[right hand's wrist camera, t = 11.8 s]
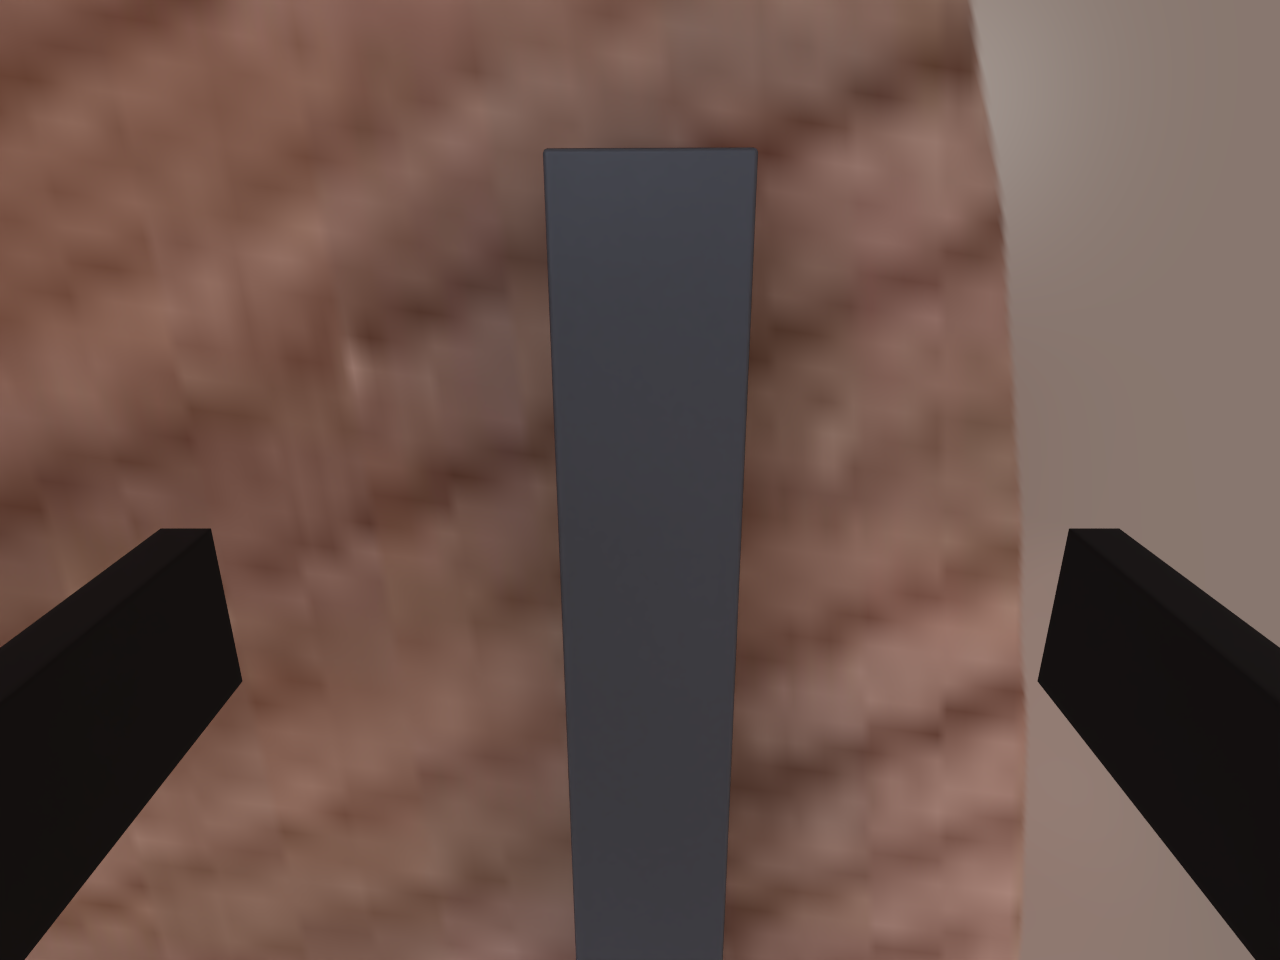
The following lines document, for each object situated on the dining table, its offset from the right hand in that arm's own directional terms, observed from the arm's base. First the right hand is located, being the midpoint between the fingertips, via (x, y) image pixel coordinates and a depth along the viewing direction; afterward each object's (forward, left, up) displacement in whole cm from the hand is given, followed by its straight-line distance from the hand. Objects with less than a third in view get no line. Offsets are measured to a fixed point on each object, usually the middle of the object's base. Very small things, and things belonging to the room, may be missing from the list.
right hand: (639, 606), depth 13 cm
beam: (+6, -20, -16) cm, 26 cm away
